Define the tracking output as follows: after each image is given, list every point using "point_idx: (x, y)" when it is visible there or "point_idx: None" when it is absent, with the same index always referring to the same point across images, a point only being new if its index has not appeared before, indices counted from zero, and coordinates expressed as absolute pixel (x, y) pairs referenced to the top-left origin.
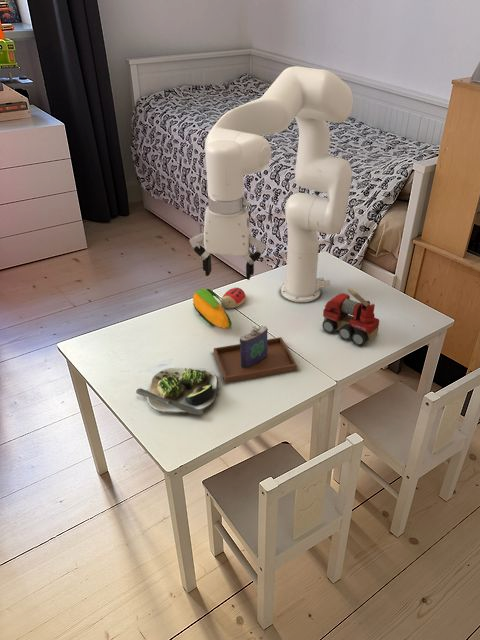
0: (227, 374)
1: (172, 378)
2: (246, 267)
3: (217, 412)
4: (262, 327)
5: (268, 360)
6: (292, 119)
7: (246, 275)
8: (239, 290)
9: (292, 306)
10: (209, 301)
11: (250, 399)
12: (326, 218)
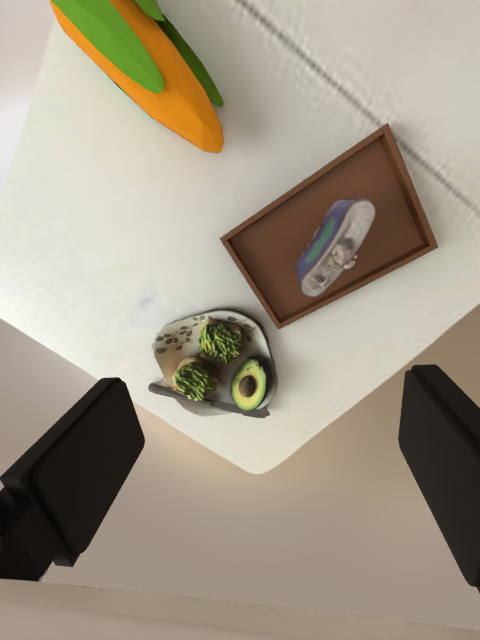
0: (275, 302)
1: (190, 370)
2: (456, 553)
3: (287, 391)
4: (358, 211)
5: None
6: None
7: (413, 471)
8: None
9: None
10: (123, 62)
11: (336, 354)
12: None
